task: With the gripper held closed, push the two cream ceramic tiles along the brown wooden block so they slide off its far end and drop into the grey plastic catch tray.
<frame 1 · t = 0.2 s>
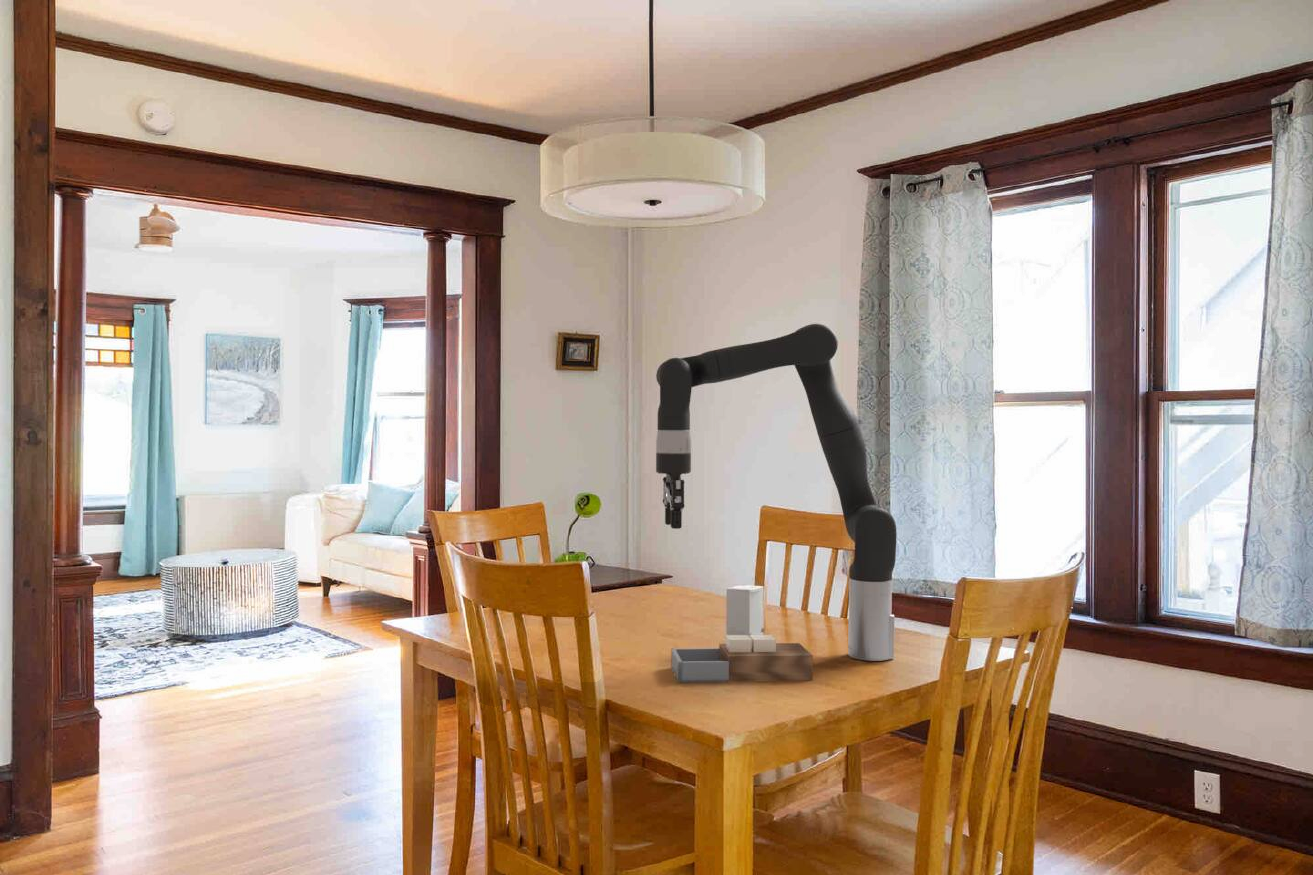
hand: (673, 526, 206), 29 cm above the table, tool pointing down, fingers open, 8 cm apart
skincare box: (744, 653, 213), on the table
brown wooden block: (764, 673, 195), on the table
tray: (699, 674, 193), on the table
tile a: (762, 649, 194), point 5 cm above the table, touching brown wooden block
tile b: (738, 649, 194), point 5 cm above the table, touching brown wooden block
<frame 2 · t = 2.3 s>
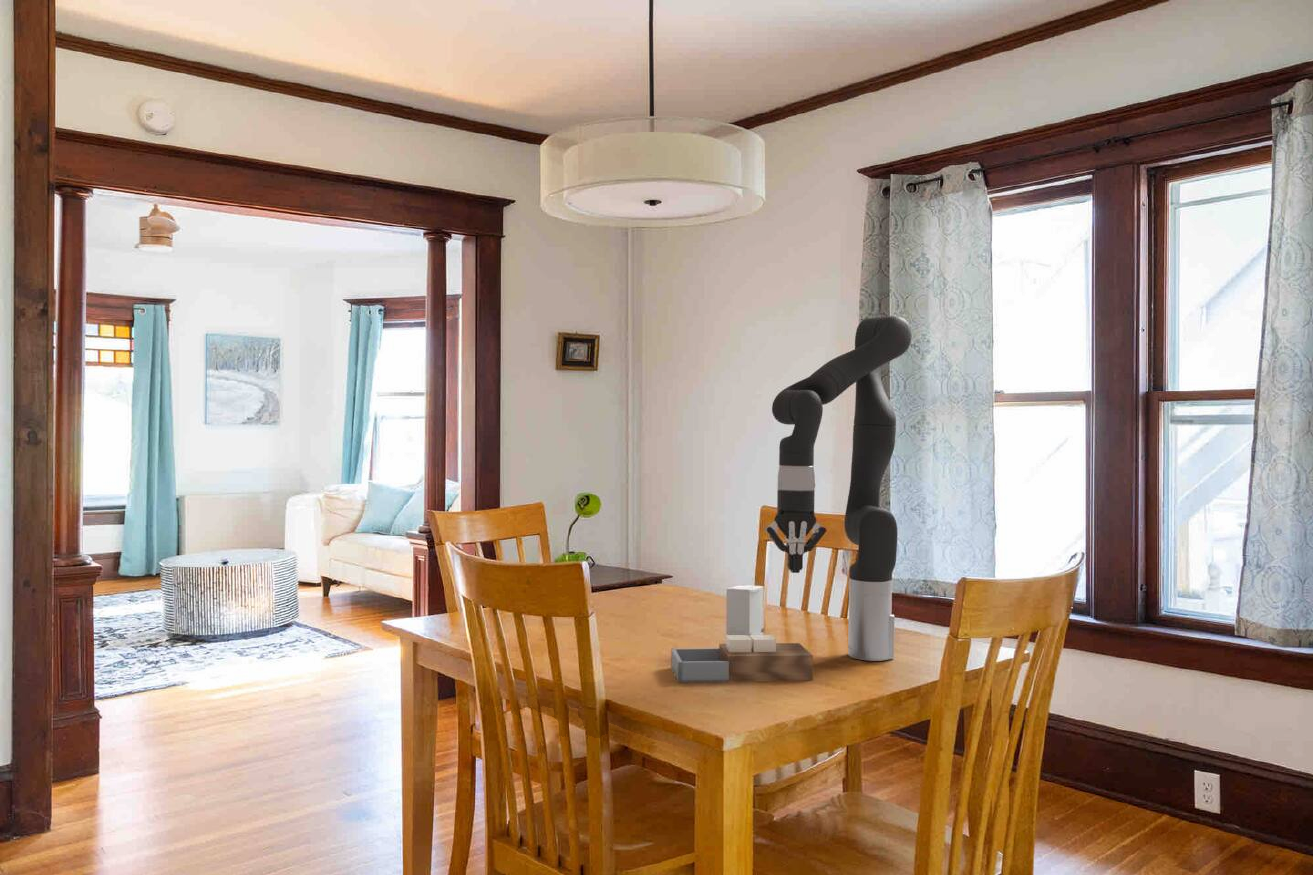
hand: (794, 572, 195), 21 cm above the table, tool pointing down, fingers closed
nothing on the table moved.
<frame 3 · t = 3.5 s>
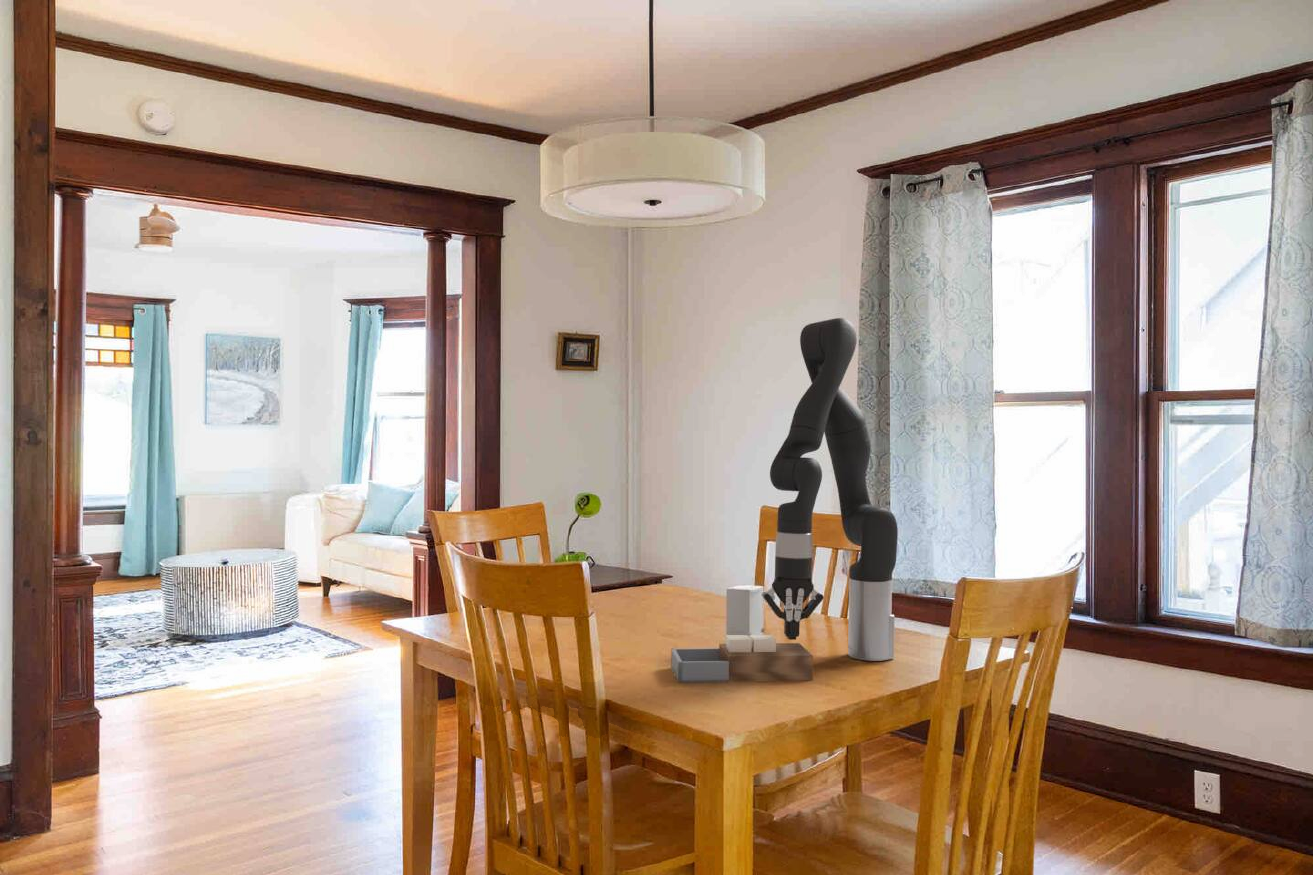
hand: (791, 638, 195), 7 cm above the table, tool pointing down, fingers closed
nothing on the table moved.
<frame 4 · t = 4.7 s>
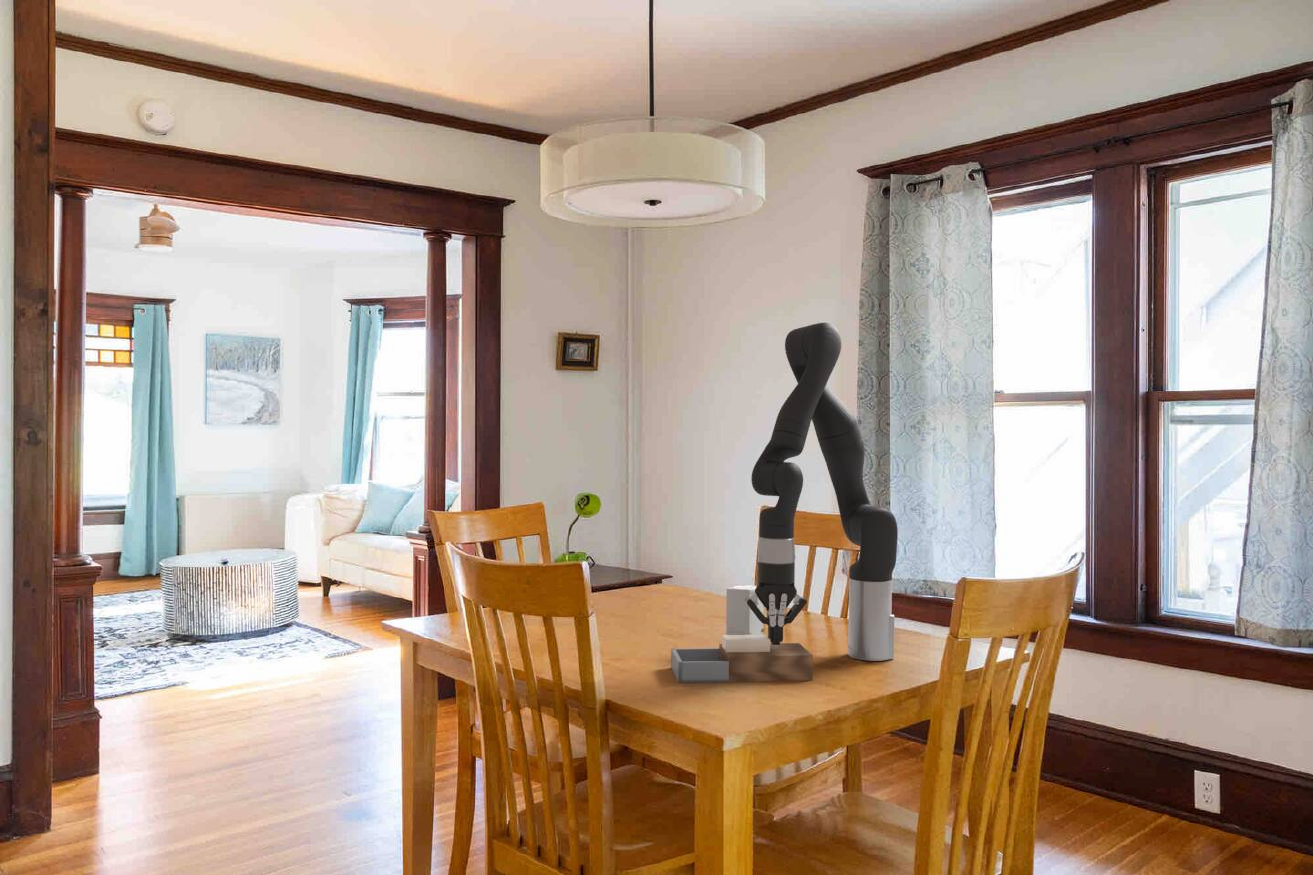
hand: (775, 643, 195), 6 cm above the table, tool pointing down, fingers closed
tile a: (756, 649, 194), point 5 cm above the table, touching gripper
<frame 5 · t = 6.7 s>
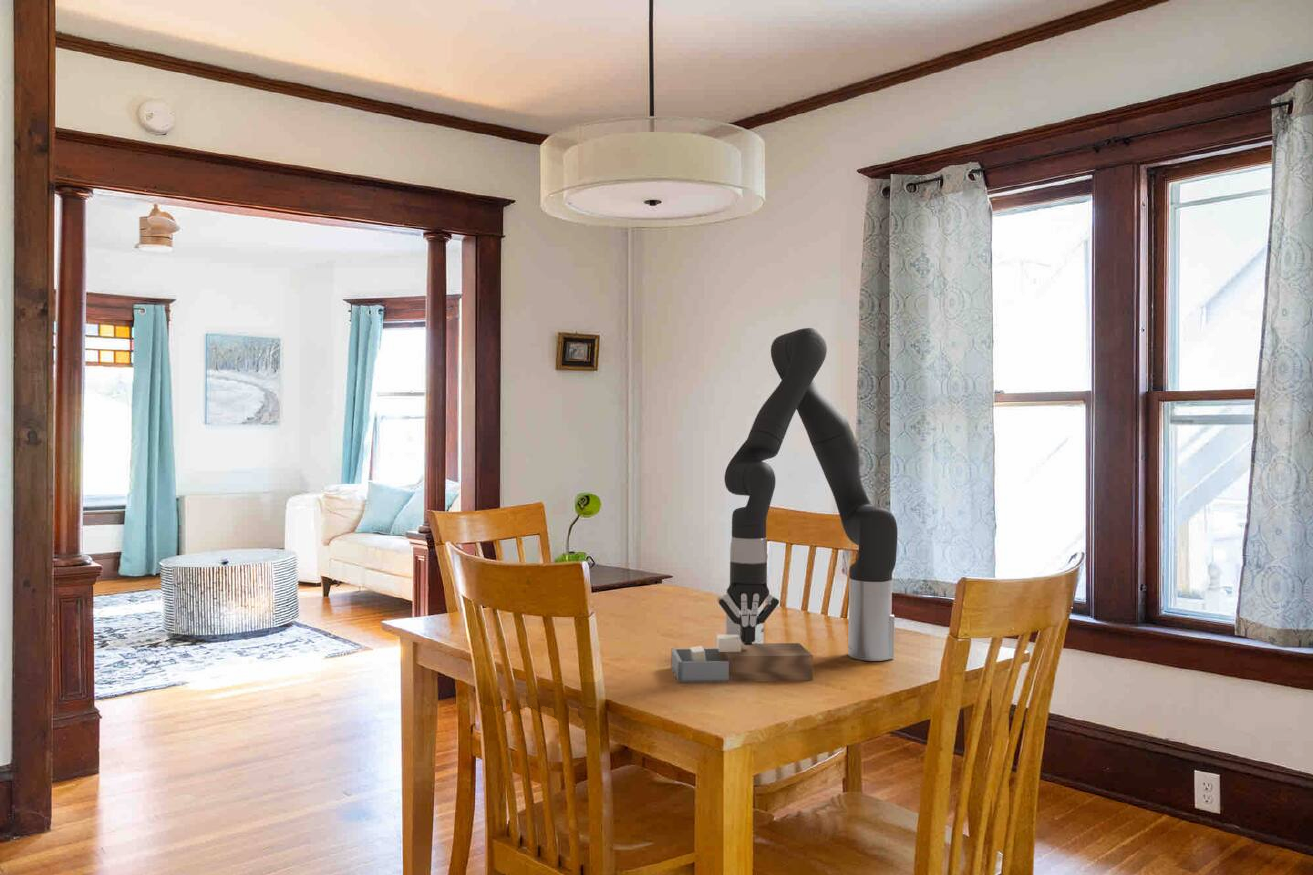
hand: (747, 644, 194), 6 cm above the table, tool pointing down, fingers closed
tile a: (728, 649, 194), point 5 cm above the table, touching gripper
tile b: (704, 659, 194), point 3 cm above the table, tilted 98°, touching tray
everything else where it was.
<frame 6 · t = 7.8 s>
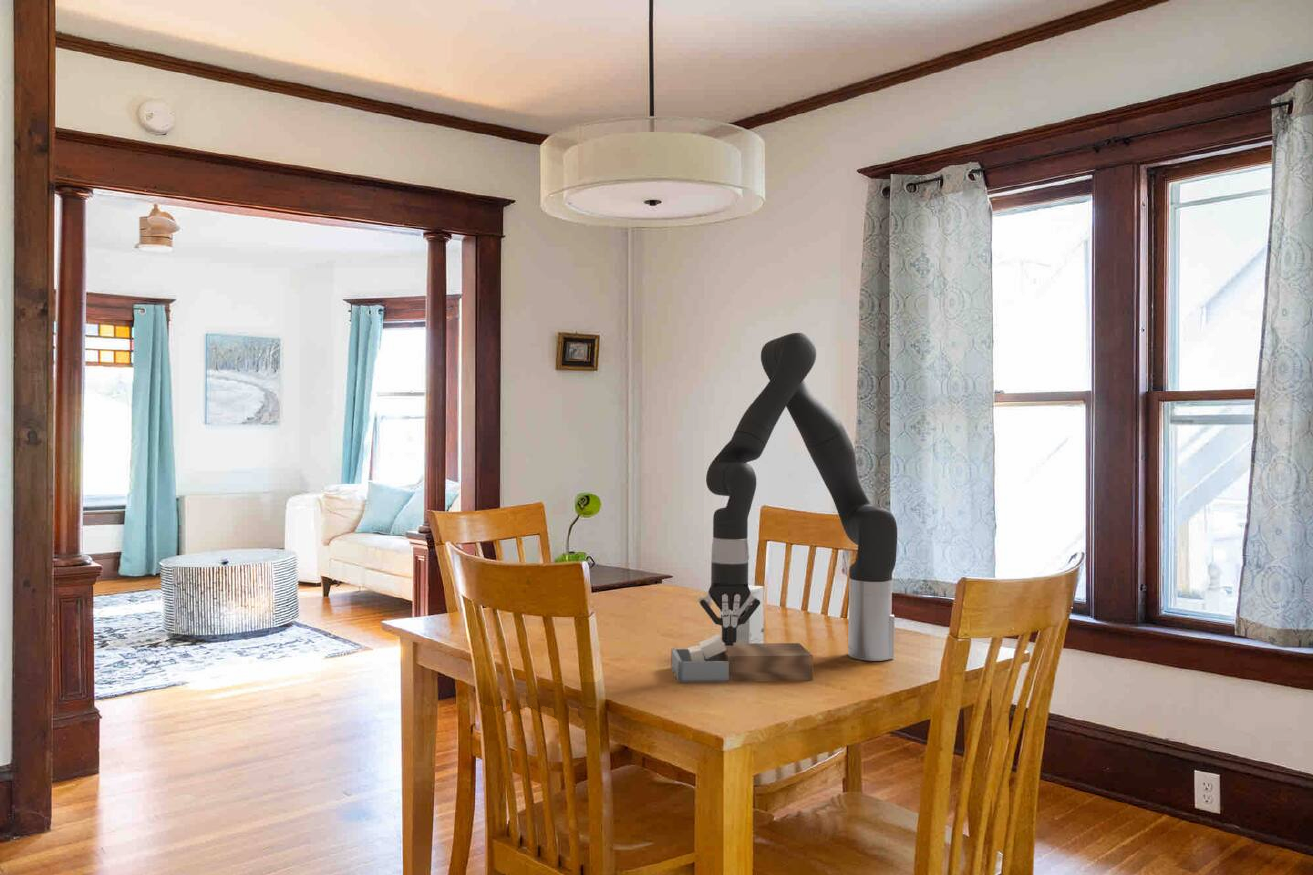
hand: (728, 644, 194), 6 cm above the table, tool pointing down, fingers closed
tile a: (714, 651, 195), point 4 cm above the table, tilted 24°, touching brown wooden block, gripper, tile b
tile b: (703, 658, 194), point 3 cm above the table, tilted 104°, touching tile a, tray
everything else where it was.
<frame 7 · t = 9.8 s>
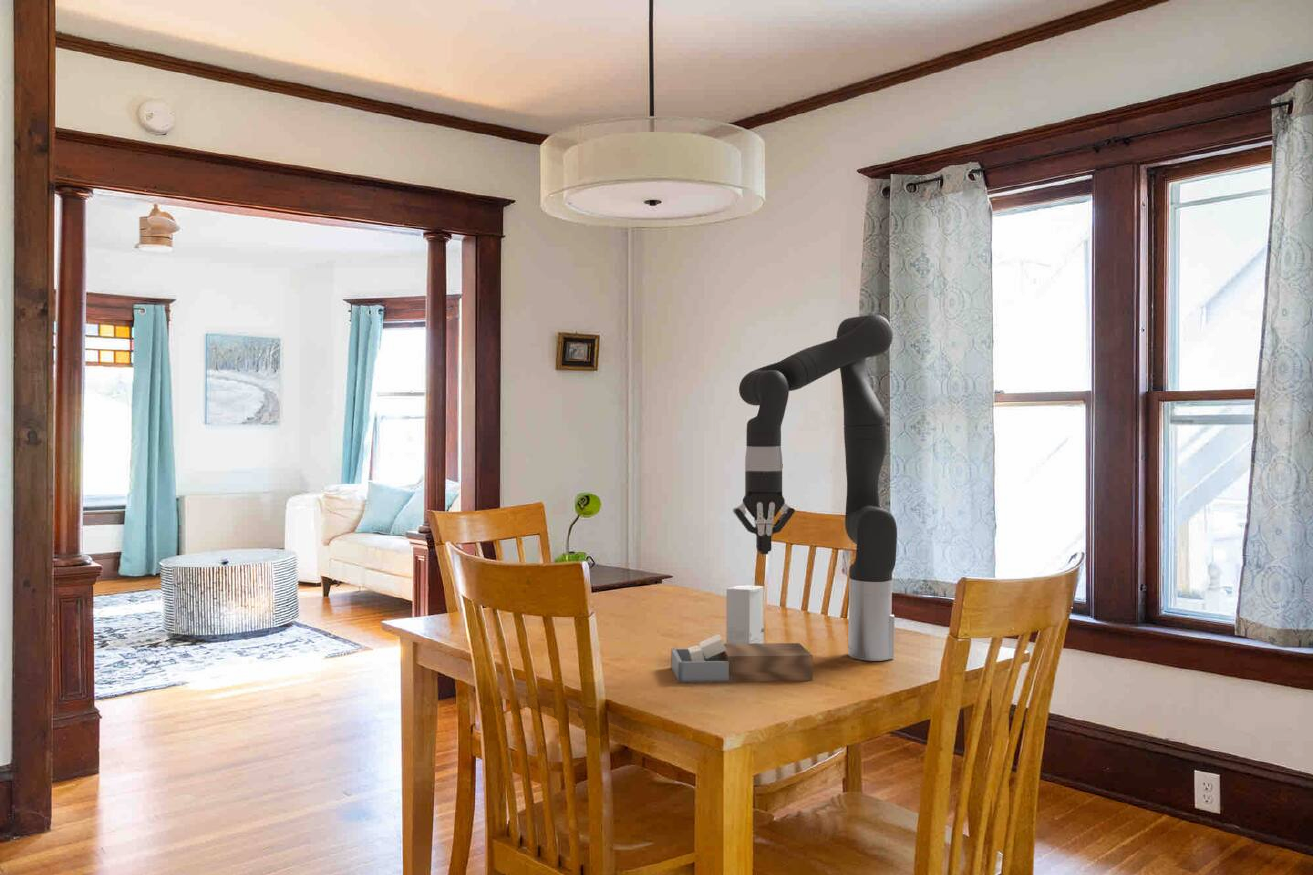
hand: (763, 553, 194), 25 cm above the table, tool pointing down, fingers closed
tile a: (714, 651, 195), point 4 cm above the table, tilted 24°, touching brown wooden block, tile b
everything else where it was.
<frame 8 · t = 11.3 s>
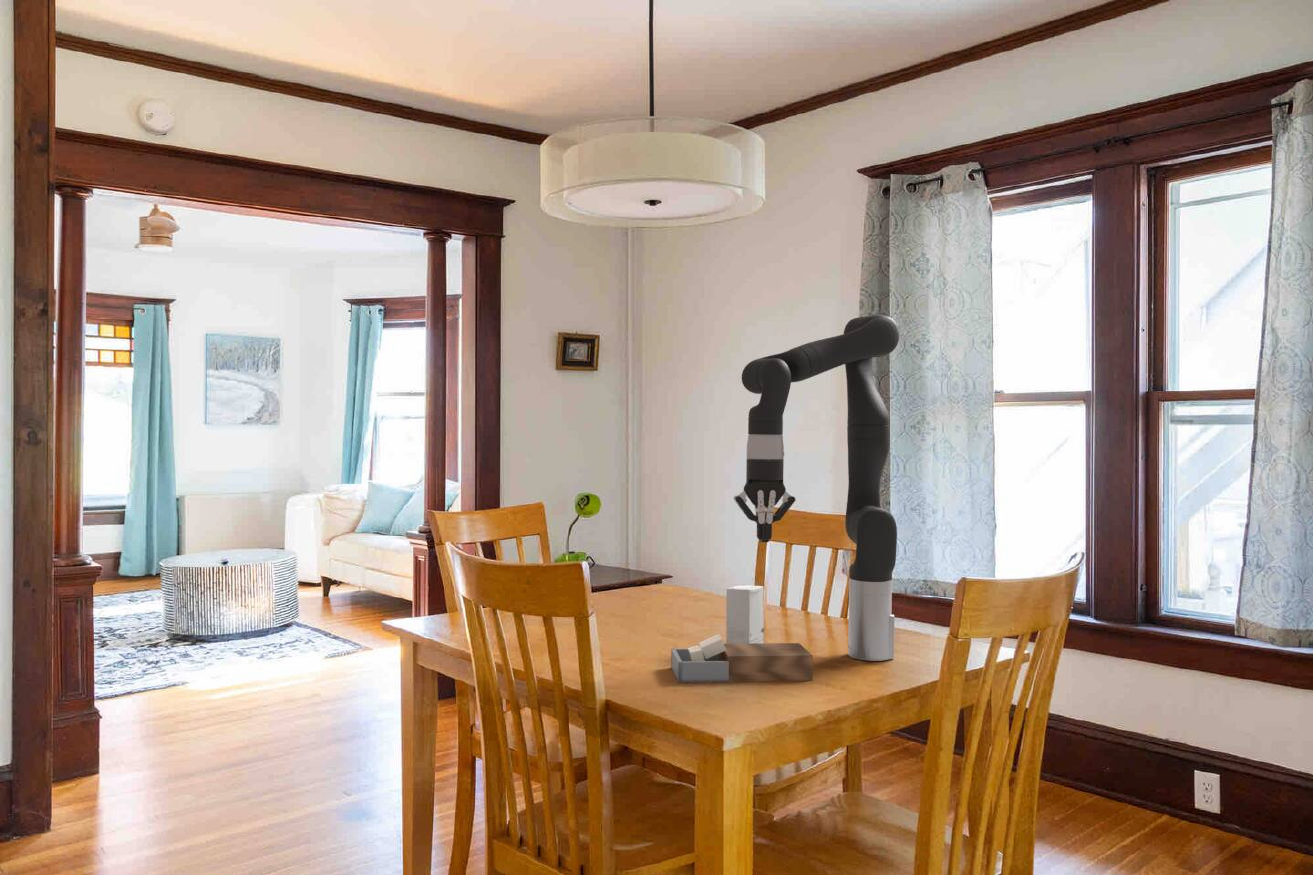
hand: (763, 541, 194), 27 cm above the table, tool pointing down, fingers closed
nothing on the table moved.
at the end: tile a inside the target area on the tray (4.1 cm from its centre), point 4.3 cm above the tray's base; tile b inside the target area on the tray (1.4 cm from its centre), point 3.3 cm above the tray's base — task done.
